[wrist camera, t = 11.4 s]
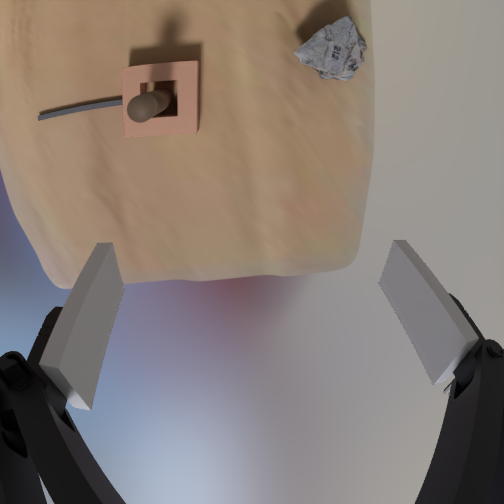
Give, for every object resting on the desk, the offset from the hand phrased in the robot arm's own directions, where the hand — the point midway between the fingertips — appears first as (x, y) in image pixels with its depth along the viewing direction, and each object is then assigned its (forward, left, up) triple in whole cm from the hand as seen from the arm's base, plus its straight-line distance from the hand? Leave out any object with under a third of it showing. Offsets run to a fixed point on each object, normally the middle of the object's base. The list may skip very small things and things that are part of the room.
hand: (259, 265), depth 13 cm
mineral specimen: (-13, +13, -32) cm, 37 cm away
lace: (-5, -23, -32) cm, 39 cm away
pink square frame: (-5, -10, -32) cm, 34 cm away
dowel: (-5, -10, -32) cm, 34 cm away
